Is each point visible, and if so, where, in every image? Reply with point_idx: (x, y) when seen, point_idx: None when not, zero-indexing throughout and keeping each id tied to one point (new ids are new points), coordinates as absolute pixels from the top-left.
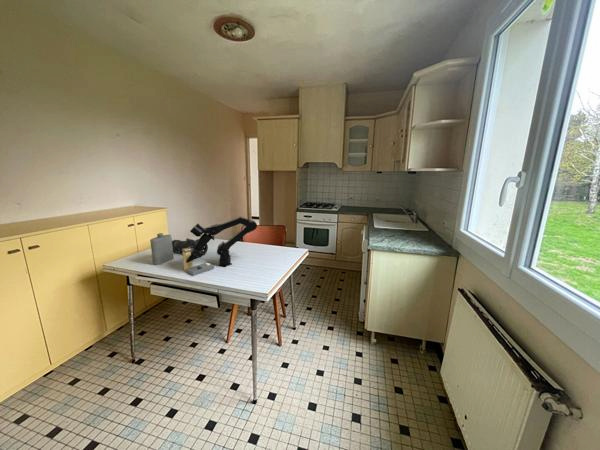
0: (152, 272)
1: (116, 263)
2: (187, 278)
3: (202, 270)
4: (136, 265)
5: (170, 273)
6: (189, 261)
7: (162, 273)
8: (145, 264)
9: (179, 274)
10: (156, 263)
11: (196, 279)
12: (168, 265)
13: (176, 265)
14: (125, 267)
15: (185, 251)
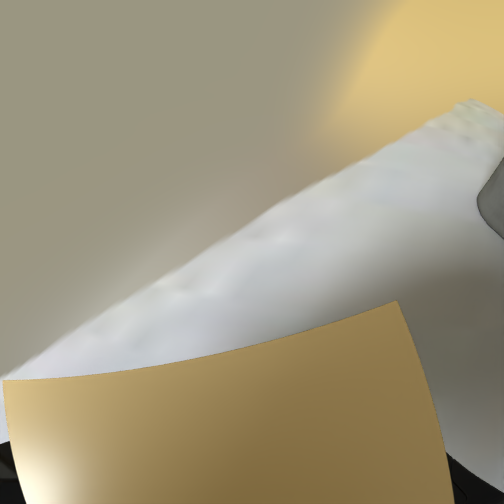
0: (357, 164)
1: (493, 111)
2: (60, 347)
3: None
4: (477, 140)
5: (263, 257)
6: None
7: (302, 207)
8: (489, 167)
9: (183, 320)
10: (482, 196)
11: None
12: (462, 268)
13: (444, 328)
14: (457, 112)
15: (43, 387)
